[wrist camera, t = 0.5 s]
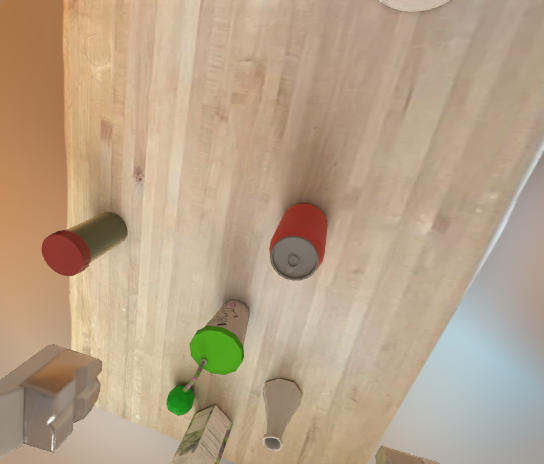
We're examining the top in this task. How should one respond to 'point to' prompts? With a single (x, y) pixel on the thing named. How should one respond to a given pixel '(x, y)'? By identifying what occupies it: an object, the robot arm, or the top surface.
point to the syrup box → (204, 438)
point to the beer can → (299, 242)
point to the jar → (101, 233)
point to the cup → (221, 341)
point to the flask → (279, 410)
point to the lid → (66, 253)
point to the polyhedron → (180, 400)
